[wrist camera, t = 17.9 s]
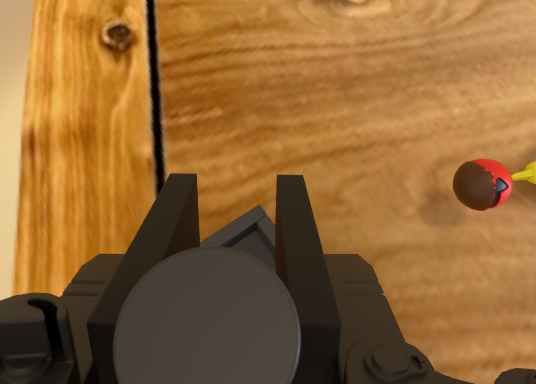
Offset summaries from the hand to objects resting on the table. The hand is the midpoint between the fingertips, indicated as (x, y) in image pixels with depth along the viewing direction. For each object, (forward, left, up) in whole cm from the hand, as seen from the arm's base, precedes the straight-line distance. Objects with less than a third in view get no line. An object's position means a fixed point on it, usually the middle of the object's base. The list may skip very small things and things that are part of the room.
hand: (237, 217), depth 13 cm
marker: (+3, +3, -11) cm, 11 cm away
